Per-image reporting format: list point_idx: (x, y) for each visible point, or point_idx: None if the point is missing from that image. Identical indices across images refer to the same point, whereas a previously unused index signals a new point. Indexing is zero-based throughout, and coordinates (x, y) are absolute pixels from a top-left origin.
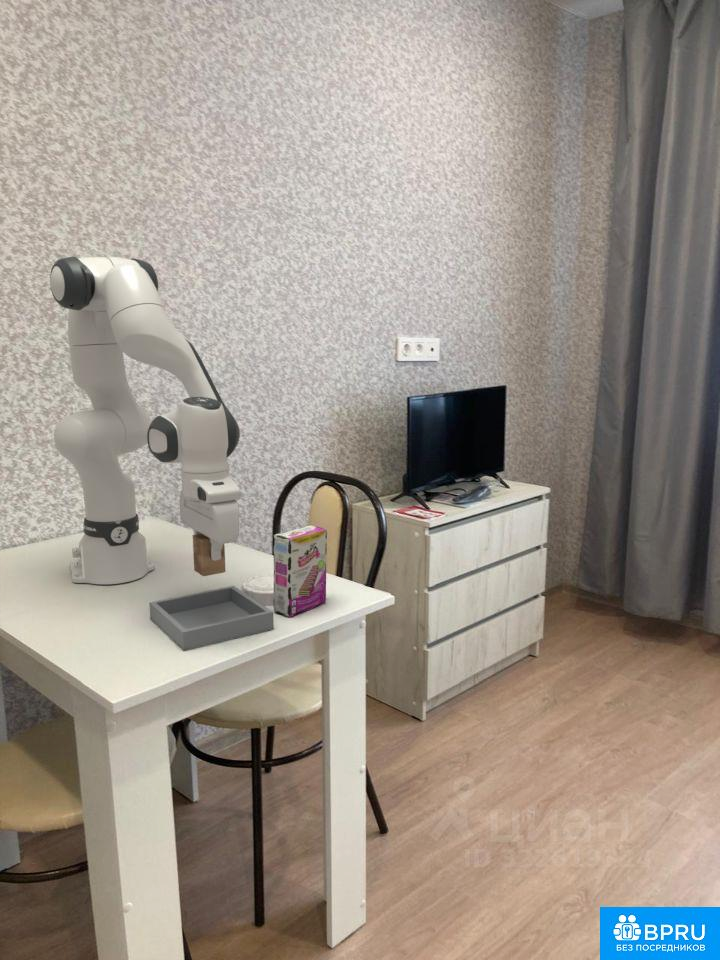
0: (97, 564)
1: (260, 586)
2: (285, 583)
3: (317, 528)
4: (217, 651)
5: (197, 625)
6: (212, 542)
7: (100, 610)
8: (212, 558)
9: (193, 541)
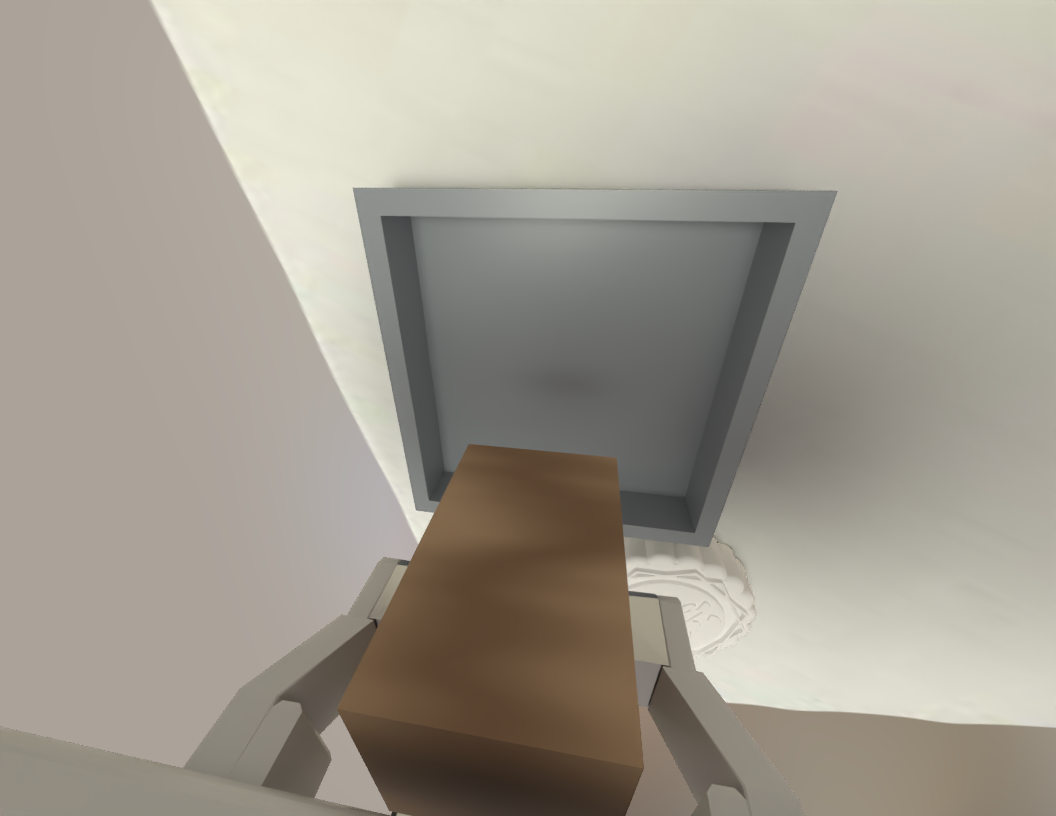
0: None
1: (646, 588)
2: None
3: None
4: (351, 289)
5: (557, 321)
6: (239, 713)
7: None
8: (377, 566)
9: (612, 670)
